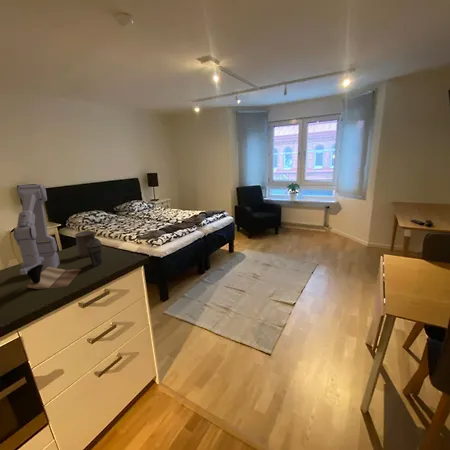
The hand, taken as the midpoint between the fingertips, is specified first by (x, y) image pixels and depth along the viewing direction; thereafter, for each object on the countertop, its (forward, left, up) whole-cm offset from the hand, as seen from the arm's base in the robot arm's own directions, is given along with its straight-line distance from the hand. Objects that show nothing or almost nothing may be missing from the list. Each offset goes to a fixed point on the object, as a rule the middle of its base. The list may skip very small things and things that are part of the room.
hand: (36, 282), depth 110 cm
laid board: (-6, +9, -3) cm, 12 cm away
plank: (-6, +1, -2) cm, 7 cm away
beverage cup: (-20, +19, -4) cm, 28 cm away
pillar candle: (-37, +9, -4) cm, 38 cm away
